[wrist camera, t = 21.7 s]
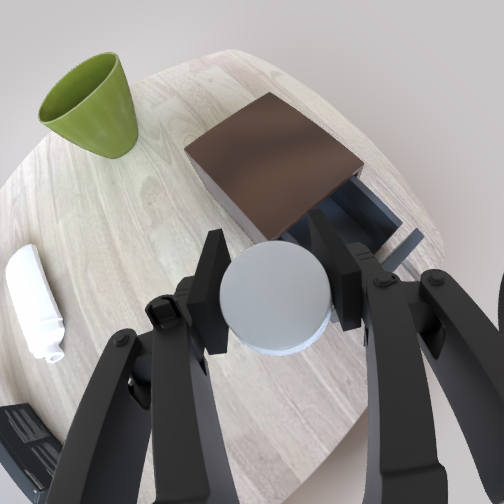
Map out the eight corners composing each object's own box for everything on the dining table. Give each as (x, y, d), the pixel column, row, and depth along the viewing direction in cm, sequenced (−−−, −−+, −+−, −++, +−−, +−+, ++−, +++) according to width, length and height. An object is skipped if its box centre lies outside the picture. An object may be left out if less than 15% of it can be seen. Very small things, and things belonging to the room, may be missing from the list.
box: (22, 423, 31) (-23, 428, 20) (28, 401, 32) (-21, 404, 21) (79, 489, 27) (35, 509, 15) (88, 471, 28) (39, 492, 17)
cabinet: (349, 204, 35) (365, 163, 25) (276, 268, 34) (269, 242, 25) (275, 138, 39) (269, 91, 30) (206, 189, 38) (183, 148, 29)
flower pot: (135, 102, 47) (99, 46, 32) (173, 130, 43) (133, 60, 28) (80, 153, 46) (33, 106, 30) (107, 192, 41) (46, 137, 26)
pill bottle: (280, 365, 17) (267, 389, 9) (232, 311, 18) (182, 290, 10) (336, 313, 17) (368, 294, 9) (285, 262, 19) (277, 205, 11)
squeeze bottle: (42, 247, 40) (23, 239, 36) (81, 340, 34) (59, 339, 30) (17, 281, 40) (-1, 274, 35) (52, 372, 33) (31, 373, 29)
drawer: (430, 295, 29) (463, 282, 21) (366, 363, 28) (388, 370, 21) (324, 182, 35) (330, 145, 28) (256, 237, 34) (246, 209, 27)
